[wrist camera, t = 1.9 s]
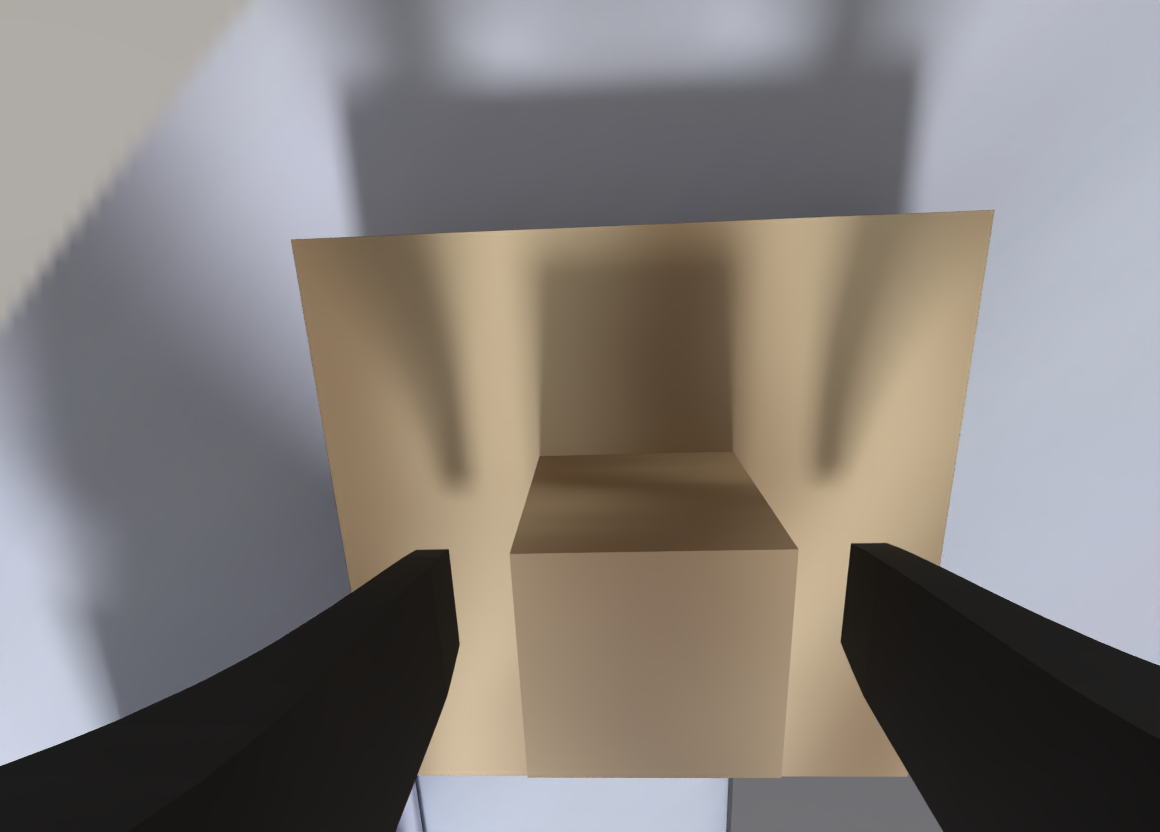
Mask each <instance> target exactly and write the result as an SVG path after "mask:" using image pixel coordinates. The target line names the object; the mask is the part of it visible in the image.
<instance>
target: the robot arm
mask: <svg viewBox="0 0 1160 832" xmlns="http://www.w3.org/2000/svg"><path fill="white" fill-rule="evenodd" d="M840 642H841V645H842V647H843V650H844V652H845V655H846V657H847V659H848V662H849V664H850V667H851V669H852V672H853V674H854V676H855V678H856V681H857V683H858V685H859V687H860V690H861V692H862V694H863V696H864V698H865V700H866V702H867V703H868V705H869V707H870V709H871V710H872V712H873V714H874V716H875V717H876V719H877V721H878V722H879V724H880V726H881V728H882V729H883V731H884V733H885V734H886V736H887V738H888V740H889V741H890V743H891V745H892V746H893V748H894V750H895V751H896V753H897V755H898V756H899V758H900V760H901V761H902V763H903V765H904V767H905V768H906V770H907V772H908V773H909V775H910V777H911V778H912V780H913V782H914V783H915V785H916V787H917V788H918V790H919V792H920V793H921V795H922V797H923V799H924V800H925V802H926V804H927V805H928V807H929V809H930V810H931V812H932V814H933V815H934V817H935V819H936V820H937V822H938V824H939V825H940V827H941V829H942V831H943V832H1160V666H1159V665H1156V664H1154V663H1151V662H1149V661H1146V660H1143V659H1141V658H1138V657H1136V656H1133V655H1130V654H1128V653H1125V652H1123V651H1121V650H1118V649H1116V648H1113V647H1111V646H1108V645H1106V644H1104V643H1101V642H1099V641H1097V640H1094V639H1092V638H1090V637H1087V636H1085V635H1083V634H1081V633H1078V632H1076V631H1074V630H1072V629H1069V628H1067V627H1065V626H1063V625H1061V624H1058V623H1056V622H1054V621H1052V620H1049V619H1047V618H1045V617H1043V616H1041V615H1038V614H1036V613H1034V612H1032V611H1030V610H1028V609H1026V608H1023V607H1021V606H1019V605H1017V604H1015V603H1013V602H1011V601H1009V600H1007V599H1005V598H1003V597H1001V596H999V595H996V594H994V593H992V592H990V591H988V590H986V589H984V588H982V587H980V586H978V585H976V584H974V583H972V582H970V581H968V580H966V579H964V578H962V577H960V576H958V575H956V574H954V573H952V572H950V571H948V570H946V569H944V568H942V567H940V566H938V565H936V564H934V563H932V562H930V561H928V560H925V559H923V558H921V557H919V556H917V555H915V554H913V553H910V552H908V551H906V550H904V549H901V548H899V547H896V546H894V545H891V544H888V543H851V547H850V557H849V566H848V575H847V585H846V594H845V604H844V613H843V623H842V632H841V641H840ZM459 646H460V641H459V632H458V624H457V615H456V606H455V598H454V589H453V580H452V572H451V563H450V554H449V549H429V550H415V551H413V552H411V553H409V554H408V555H406V556H405V557H403V558H401V559H400V560H398V561H397V562H395V563H394V564H392V565H391V566H389V567H388V568H387V569H385V570H384V571H382V572H381V573H379V574H378V575H377V576H375V577H374V578H372V579H371V580H369V581H368V582H366V583H365V584H364V585H362V586H361V587H359V588H358V589H356V590H355V591H353V592H352V593H350V594H349V595H347V596H346V597H345V598H343V599H342V600H340V601H339V602H337V603H336V604H334V605H333V606H331V607H330V608H328V609H327V610H325V611H323V612H322V613H320V614H319V615H317V616H316V617H314V618H312V619H311V620H309V621H308V622H306V623H304V624H303V625H301V626H300V627H298V628H297V629H295V630H293V631H292V632H290V633H289V634H287V635H285V636H284V637H282V638H281V639H279V640H277V641H276V642H274V643H272V644H271V645H269V646H267V647H265V648H264V649H262V650H260V651H258V652H257V653H255V654H253V655H251V656H250V657H248V658H246V659H244V660H242V661H240V662H238V663H236V664H235V665H233V666H231V667H229V668H227V669H225V670H223V671H221V672H219V673H218V674H216V675H214V676H212V677H210V678H208V679H206V680H204V681H202V682H200V683H198V684H196V685H194V686H192V687H189V688H187V689H185V690H183V691H181V692H179V693H176V694H174V695H172V696H170V697H168V698H165V699H163V700H161V701H159V702H157V703H154V704H152V705H150V706H148V707H146V708H144V709H141V710H139V711H137V712H135V713H133V714H130V715H128V716H126V717H124V718H122V719H119V720H117V721H115V722H112V723H110V724H108V725H105V726H103V727H100V728H98V729H95V730H93V731H90V732H88V733H86V734H83V735H81V736H78V737H76V738H73V739H71V740H68V741H66V742H63V743H61V744H58V745H55V746H53V747H50V748H47V749H45V750H42V751H40V752H37V753H34V754H32V755H29V756H26V757H24V758H21V759H18V760H16V761H13V762H10V763H8V764H5V765H2V766H0V832H423V830H422V824H421V817H420V810H419V804H418V797H417V791H416V784H415V780H416V777H417V775H418V772H419V770H420V767H421V765H422V762H423V759H424V757H425V754H426V752H427V749H428V746H429V744H430V741H431V739H432V736H433V733H434V731H435V728H436V725H437V723H438V720H439V718H440V715H441V712H442V710H443V707H444V704H445V701H446V699H447V696H448V692H449V688H450V684H451V680H452V676H453V672H454V668H455V663H456V659H457V655H458V650H459Z"/></svg>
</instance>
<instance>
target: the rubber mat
mask: <svg viewBox="0 0 1160 832" xmlns="http://www.w3.org/2000/svg"><path fill="white" fill-rule="evenodd" d="M727 832H943V831H942V829H941V827H940V825H939V824H938V822H937V820H936V819H935V817H934V815H933V814H932V812H931V810H930V809H929V807H928V805H927V804H926V802H925V800H924V799H923V797H922V795H921V793H920V792H919V790H918V788H917V787H916V785H915V783H914V782H913V780H912V778H911V777H910V775H909V773H908V776H907V777H822V776H781V778H729V793H728V816H727Z"/></svg>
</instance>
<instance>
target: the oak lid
mask: <svg viewBox="0 0 1160 832" xmlns="http://www.w3.org/2000/svg"><path fill="white" fill-rule="evenodd" d="M993 217H994V210H979V211H956V212H932V213H908V214H885V215H861V216H837V217H814V218H790V219H767V220H743V221H719V222H696V223H672V224H648V225H625V226H601V227H577V228H554V229H530V230H506V231H483V232H459V233H435V234H412V235H388V236H364V237H341V238H317V239H294V240H291V243H292V249H293V255H294V260H295V266H296V272H297V278H298V284H299V290H300V296H301V301H302V307H303V313H304V319H305V325H306V331H307V336H308V342H309V348H310V354H311V360H312V366H313V372H314V377H315V383H316V389H317V395H318V401H319V407H320V413H321V418H322V424H323V430H324V436H325V442H326V448H327V453H328V459H329V465H330V471H331V477H332V483H333V489H334V494H335V500H336V506H337V512H338V518H339V524H340V529H341V535H342V541H343V547H344V553H345V559H346V565H347V570H348V576H349V582H350V588H351V593H352V592H353V591H355V590H356V589H358V588H359V587H361V586H362V585H364V584H365V583H366V582H368V581H369V580H371V579H372V578H374V577H375V576H377V575H378V574H379V573H381V572H382V571H384V570H385V569H387V568H388V567H389V566H391V565H392V564H394V563H395V562H397V561H398V560H400V559H401V558H403V557H405V556H406V555H408V554H409V553H411V552H413V551H415V550H429V549H449V554H450V563H451V572H452V580H453V589H454V598H455V606H456V615H457V624H458V632H459V641H460V646H459V650H458V655H457V659H456V663H455V668H454V672H453V676H452V680H451V684H450V688H449V692H448V696H447V699H446V701H445V704H444V707H443V710H442V712H441V715H440V718H439V720H438V723H437V725H436V728H435V731H434V733H433V736H432V739H431V741H430V744H429V746H428V749H427V752H426V754H425V757H424V759H423V762H422V765H421V767H420V770H419V772H418V775H417V776H528V777H552V778H781V776H822V777H907V776H908V772H907V770H906V768H905V767H904V765H903V763H902V761H901V760H900V758H899V756H898V755H897V753H896V751H895V750H894V748H893V746H892V745H891V743H890V741H889V740H888V738H887V736H886V734H885V733H884V731H883V729H882V728H881V726H880V724H879V722H878V721H877V719H876V717H875V716H874V714H873V712H872V710H871V709H870V707H869V705H868V703H867V702H866V700H865V698H864V696H863V694H862V692H861V690H860V687H859V685H858V683H857V681H856V678H855V676H854V674H853V672H852V669H851V667H850V664H849V662H848V659H847V657H846V655H845V652H844V650H843V647H842V645H841V642H840V641H841V632H842V623H843V613H844V604H845V594H846V585H847V575H848V566H849V557H850V547H851V543H888V544H891V545H894V546H896V547H899V548H901V549H904V550H906V551H908V552H910V553H913V554H915V555H917V556H919V557H921V558H923V559H925V560H928V561H930V562H932V563H934V564H936V565H938V566H940V561H941V555H942V548H943V542H944V535H945V529H946V522H947V516H948V509H949V503H950V496H951V490H952V483H953V477H954V470H955V464H956V457H957V451H958V444H959V438H960V431H961V425H962V418H963V412H964V405H965V399H966V392H967V386H968V379H969V373H970V366H971V360H972V353H973V347H974V340H975V334H976V327H977V321H978V314H979V308H980V301H981V295H982V288H983V282H984V275H985V269H986V262H987V256H988V249H989V243H990V236H991V230H992V223H993Z"/></svg>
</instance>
